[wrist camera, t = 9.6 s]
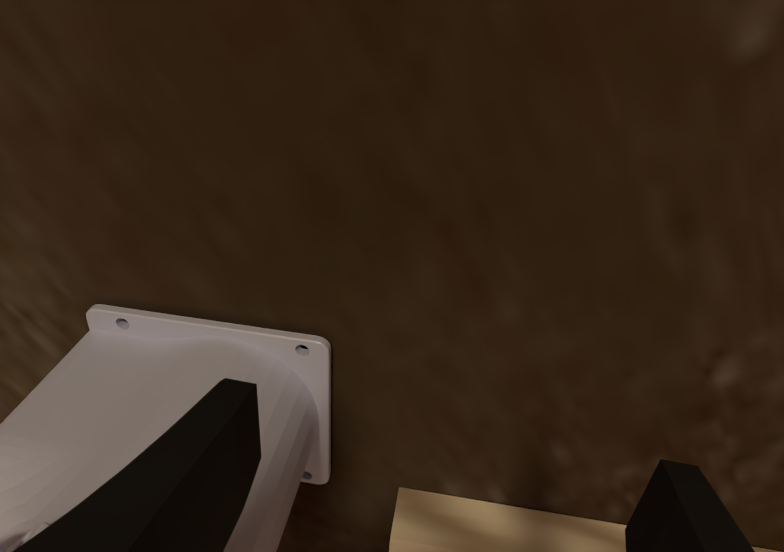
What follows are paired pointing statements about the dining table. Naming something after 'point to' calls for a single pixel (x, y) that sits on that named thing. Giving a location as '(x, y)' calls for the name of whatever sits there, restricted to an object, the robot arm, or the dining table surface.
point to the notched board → (495, 527)
